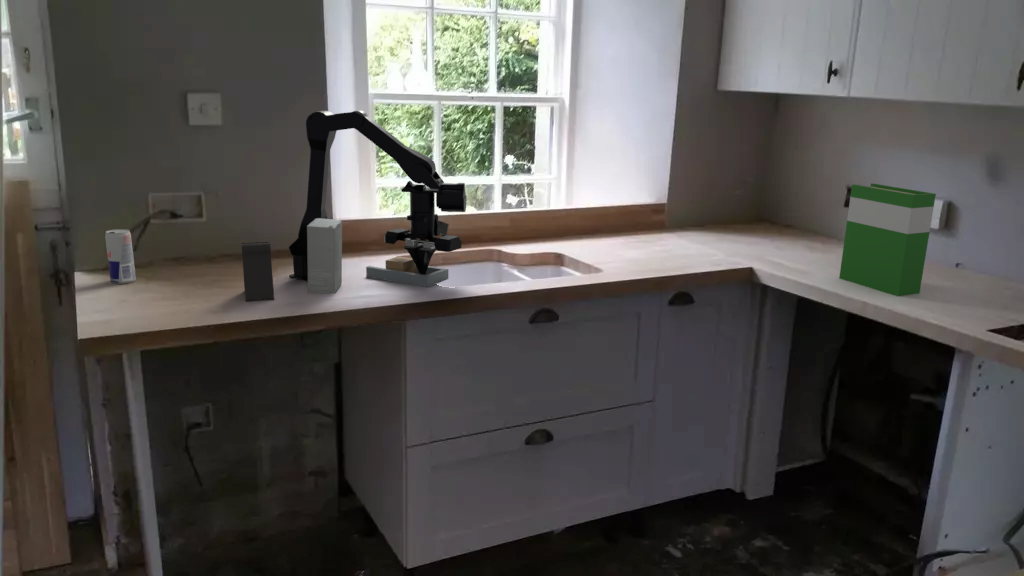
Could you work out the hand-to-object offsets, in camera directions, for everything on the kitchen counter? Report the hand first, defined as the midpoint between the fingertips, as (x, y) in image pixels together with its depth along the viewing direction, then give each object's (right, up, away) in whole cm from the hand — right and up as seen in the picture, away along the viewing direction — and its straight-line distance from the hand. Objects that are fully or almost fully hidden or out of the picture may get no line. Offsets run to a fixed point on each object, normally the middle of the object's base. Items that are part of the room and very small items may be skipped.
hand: (422, 274), depth 191 cm
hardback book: (+112, -3, +5) cm, 112 cm away
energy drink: (-70, -2, -6) cm, 70 cm away
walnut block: (-6, -1, +3) cm, 7 cm away
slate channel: (-4, -1, +2) cm, 5 cm away
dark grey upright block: (-35, -5, -15) cm, 38 cm away
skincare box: (-21, -4, -8) cm, 23 cm away
